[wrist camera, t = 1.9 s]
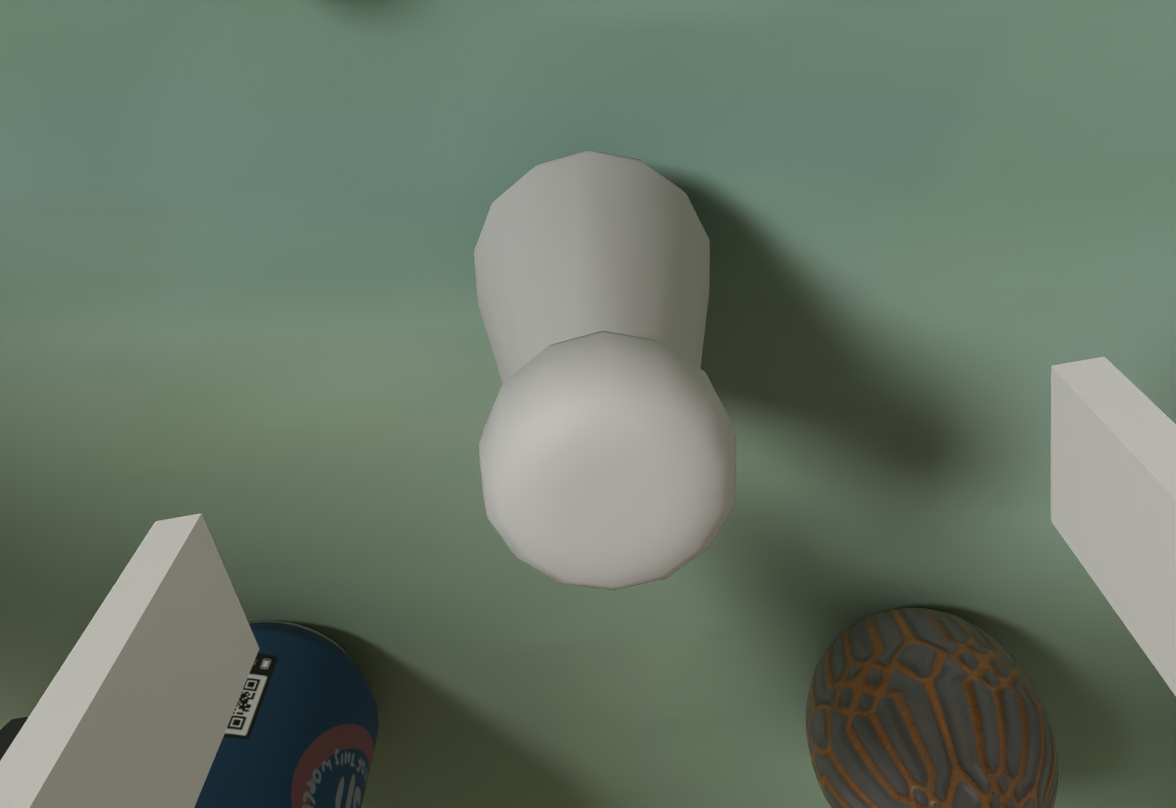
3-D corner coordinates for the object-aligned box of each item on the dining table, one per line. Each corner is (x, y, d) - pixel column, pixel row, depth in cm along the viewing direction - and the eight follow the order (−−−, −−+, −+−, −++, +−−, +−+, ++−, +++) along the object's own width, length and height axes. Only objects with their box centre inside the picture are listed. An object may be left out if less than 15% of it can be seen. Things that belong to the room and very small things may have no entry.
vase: (1040, 660, 35) (1175, 890, 27) (870, 767, 37) (950, 1008, 29) (920, 534, 33) (1030, 745, 25) (745, 655, 35) (797, 886, 27)
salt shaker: (467, 321, 29) (402, 625, 18) (496, 112, 27) (443, 306, 15) (675, 354, 30) (745, 669, 18) (723, 152, 27) (840, 370, 16)
